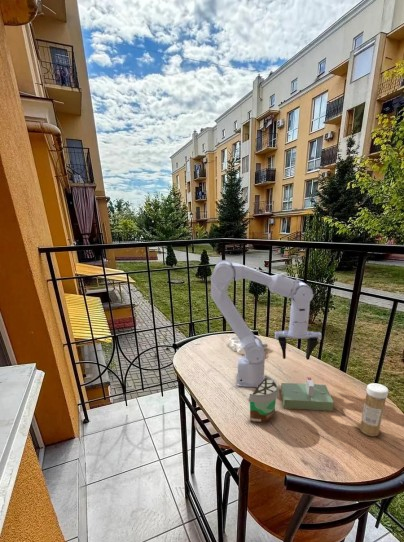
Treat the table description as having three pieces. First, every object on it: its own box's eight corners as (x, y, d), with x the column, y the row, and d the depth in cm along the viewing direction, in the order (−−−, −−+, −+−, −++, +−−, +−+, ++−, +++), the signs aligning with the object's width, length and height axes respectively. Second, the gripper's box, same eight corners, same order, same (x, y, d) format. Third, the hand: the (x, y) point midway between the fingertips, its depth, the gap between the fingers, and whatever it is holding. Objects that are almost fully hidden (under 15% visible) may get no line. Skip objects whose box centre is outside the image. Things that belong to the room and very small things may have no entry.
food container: (269, 432, 75) (271, 400, 72) (248, 425, 79) (248, 394, 75) (283, 408, 85) (285, 379, 82) (263, 402, 88) (265, 374, 85)
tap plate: (283, 408, 85) (284, 399, 84) (280, 390, 94) (281, 382, 93) (332, 411, 83) (334, 402, 82) (324, 392, 92) (325, 384, 91)
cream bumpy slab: (272, 351, 124) (246, 360, 117) (246, 339, 138) (222, 346, 132) (272, 344, 123) (246, 352, 116) (246, 333, 137) (222, 339, 130)
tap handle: (313, 396, 85) (314, 385, 83) (308, 396, 85) (309, 385, 84) (310, 387, 90) (311, 377, 88) (305, 387, 90) (306, 376, 88)
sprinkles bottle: (382, 432, 74) (392, 388, 69) (373, 439, 71) (383, 394, 67) (364, 423, 77) (373, 380, 72) (355, 429, 75) (363, 386, 70)
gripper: (319, 316, 93) (315, 353, 98) (274, 316, 96) (273, 352, 101) (324, 323, 87) (320, 362, 92) (276, 322, 89) (274, 361, 94)
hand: (295, 358), depth 96 cm, fingers open, 7 cm apart
